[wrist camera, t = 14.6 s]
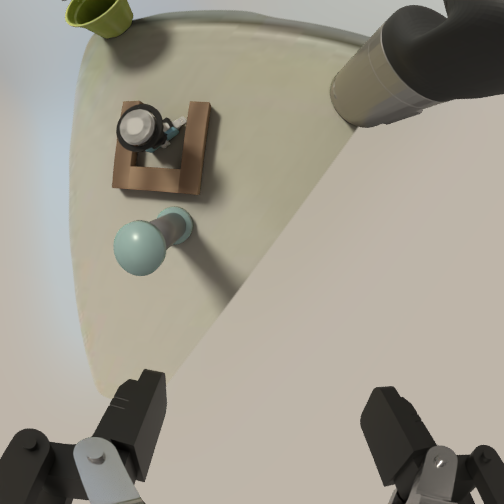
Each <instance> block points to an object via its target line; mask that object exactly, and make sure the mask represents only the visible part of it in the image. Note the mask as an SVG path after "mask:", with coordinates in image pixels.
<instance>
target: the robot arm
mask: <svg viewBox="0 0 504 504" xmlns="http://www.w3.org/2000/svg"><path fill="white" fill-rule="evenodd" d="M443 1H444V5H445V8H446V12H447V16H448V18H446V17H444V16H443V15H441V14H439V13H438V12H436V11H434V10H432V9H429V8H427V7H423V6H418V5H410V6H405V7H403V8H400V9H399V10H397V11H396V12H395V13H394V14H393V15H392V16H391V17H390V18H389V19H388V20H387V21H386V22H385V23H384V24H383V25H382V26H381V27H380V28H379V29H378V30H377V31H376V32H375V33H374V34H373V35H372V36H371V37H370V39H369V40H368V41H367V42H366V43H365V44H364V45H363V46H362V47H361V48H360V49H359V50H358V51H357V53H356V54H355V55H354V56H353V57H352V58H351V59H350V60H349V61H348V62H347V64H346V65H345V66H344V67H343V68H342V69H341V70H340V71H339V72H338V73H337V75H336V76H335V77H334V79H333V81H332V83H331V87H330V96H331V100H332V103H333V105H334V108H335V109H336V111H337V112H338V113H339V115H340V116H341V117H342V118H343V119H345V120H346V121H348V122H349V123H351V124H353V125H355V126H359V127H365V128H369V127H374V126H377V125H379V124H382V123H383V124H390V123H393V122H396V121H399V120H402V119H405V118H408V117H411V116H415V115H417V114H420V113H422V111H423V109H425V108H428V107H431V106H434V105H437V104H440V103H444V102H447V101H450V100H454V99H472V98H483V97H488V96H494V95H500V94H504V0H443ZM166 406H167V398H166V380H165V373H163V372H158V371H153V370H148V369H144V370H143V372H142V374H141V376H140V378H139V380H138V381H136V380H132V379H129V380H127V381H126V382H125V383H123V384H122V385H121V386H119V388H118V390H117V392H116V393H115V395H114V398H113V399H112V401H111V403H110V406H108V408H107V410H106V412H105V414H104V416H103V417H102V419H101V421H100V423H99V425H98V427H97V429H96V430H95V433H94V434H93V436H92V437H90V438H85V439H83V440H81V441H80V442H78V443H77V444H74V445H72V444H62V443H55V442H49V440H48V438H47V437H46V436H45V435H44V434H43V433H42V432H40V431H38V430H36V429H23V430H21V431H19V432H18V433H17V434H15V436H14V437H13V439H12V440H11V442H10V444H9V445H8V447H7V448H6V450H5V452H4V453H3V455H2V457H1V459H0V504H72V501H73V498H74V499H83V500H89V501H90V503H91V504H145V503H144V502H143V500H142V499H141V497H140V495H139V493H138V492H137V490H136V488H135V486H134V484H135V480H138V481H142V482H145V479H146V476H147V473H148V469H149V466H150V463H151V459H152V456H153V453H154V449H155V446H156V443H157V439H158V436H159V433H160V430H161V427H162V424H163V420H164V417H165V414H166ZM360 422H361V423H360V424H361V428H362V431H363V433H364V436H365V438H366V441H367V443H368V446H369V448H370V451H371V453H372V456H373V458H374V461H375V464H376V466H377V469H378V472H379V474H380V477H381V480H382V482H383V485H384V486H389V485H394V484H395V485H396V489H395V490H394V492H393V494H392V496H391V498H390V501H389V503H388V504H475V503H474V501H473V498H472V496H471V494H470V492H471V491H472V490H473V489H474V488H475V487H476V488H477V489H478V492H479V494H480V496H481V498H482V500H483V502H484V504H504V463H503V462H502V460H501V458H500V457H499V455H498V454H497V452H496V451H495V450H494V449H493V448H492V447H490V446H487V445H480V446H478V447H476V449H475V450H474V451H473V452H472V453H471V454H470V455H456V454H455V453H454V451H452V450H451V449H450V448H448V447H445V446H437V445H436V443H435V441H434V440H433V438H432V436H431V435H430V433H429V431H428V430H427V428H426V427H425V425H424V423H423V422H421V418H420V417H419V415H417V412H416V410H415V409H414V407H413V406H412V404H411V403H409V402H408V401H407V400H406V399H405V398H403V397H400V395H399V394H398V392H397V390H396V389H395V388H394V387H392V386H389V387H376V388H375V389H374V390H373V391H372V393H371V395H370V398H369V400H368V402H367V404H366V406H365V408H364V410H363V412H362V415H361V419H360Z"/></svg>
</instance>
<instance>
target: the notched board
mask: <svg viewBox="0 0 504 504" xmlns="http://www.w3.org/2000/svg"><path fill="white" fill-rule="evenodd" d="M138 104H143V103H142V102H140V101H126V102H123V106H122V112H121V116H122V115H123V113H124V112H125V111H126V110H127V109H129V108H130V107H132V106H134V105H138ZM210 112H211V104H210V103H209V102H192V101H190V105H189V111H188V117H187V124H186V131H185V138H184V145H183V153H182V160H181V169H168V168H153V167H136V160H137V152H132V151H129V150H126V149H125V148H124V147H122V146H121V144H120V143H119V141H118V138H117V144H116V152H115V161H114V171H113V182H112V188H122V189H137V190H150V191H162V192H174V193H184V194H195V195H198V194H200V187H201V178H202V170H203V162H204V154H205V147H206V139H207V132H208V125H209V118H210ZM134 146H138V145H134Z"/></svg>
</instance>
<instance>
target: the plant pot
mask: <svg viewBox="0 0 504 504" xmlns="http://www.w3.org/2000/svg"><path fill="white" fill-rule="evenodd" d="M65 19H66V22H67V23H68V24H69V25H70V26H73V27H82V28H86V29H88V30H90V31H92V32H94V33H96V34H98V35H100V36H101V37H103V38H111V37H117V36H119V35H120V34H122V33H123V32H125V31H126V30H127V29H128V28H129V26H130V25H131V23H132V19H133V13H132V11H131V9H130V7H129V4H128V2H127V0H72V1H71V2H70V4H69V6H68V8H67V10H66V14H65Z"/></svg>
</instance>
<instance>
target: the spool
mask: <svg viewBox="0 0 504 504" xmlns="http://www.w3.org/2000/svg"><path fill="white" fill-rule="evenodd" d="M192 229H193V222H192V218H191V216H190V215H189V213H188V212H187V211H186V210H184V209H183V208H180V207H169V208H167V209H165V210H163V211H162V212H161V213H160V214H159V215H158V217H157V219H155V220H153V221H151V222H147V221H142V220H138V221H133V222H131V223H128V224H126V225H124V226H123V227H122V228H121V229H120V230H119V231H118V233H117V234H116V236H115V239H114V254H115V257H116V259H117V261H118V263H119V264H120V266H121V267H122V268H123V269H124V270H125V271H127V272H128V273H130V274H133V275H136V276H145V275H148V274H151V273H153V272H154V271H155V270H156V269H157V268H158V267H159V266H160V265H161V264H162V262H163V261H164V258H165V255H166V250H167V249H168V248H169V247H170V246H171V245H175V244H180V243H182V242H184V241H185V240H186V239H187V238H188V237H189V236H190V234H191V232H192Z"/></svg>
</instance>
